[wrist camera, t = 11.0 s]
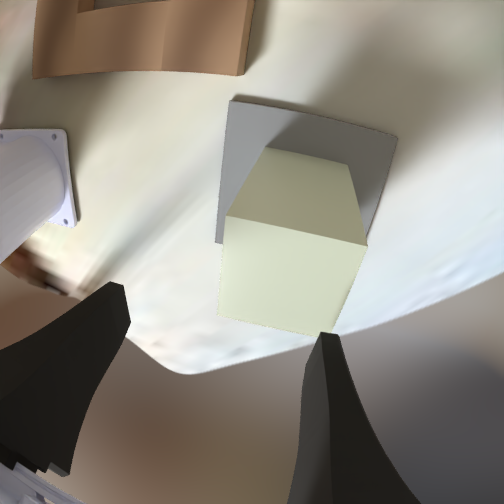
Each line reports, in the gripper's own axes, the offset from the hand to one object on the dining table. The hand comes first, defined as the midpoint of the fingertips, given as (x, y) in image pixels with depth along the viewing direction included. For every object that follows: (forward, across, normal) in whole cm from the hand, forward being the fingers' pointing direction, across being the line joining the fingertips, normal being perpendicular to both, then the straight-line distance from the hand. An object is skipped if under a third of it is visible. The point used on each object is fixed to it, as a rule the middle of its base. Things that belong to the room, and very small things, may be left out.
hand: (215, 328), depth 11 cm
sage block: (+9, -2, -2) cm, 10 cm away
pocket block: (+10, +9, -15) cm, 20 cm away
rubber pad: (+10, -2, -2) cm, 10 cm away
